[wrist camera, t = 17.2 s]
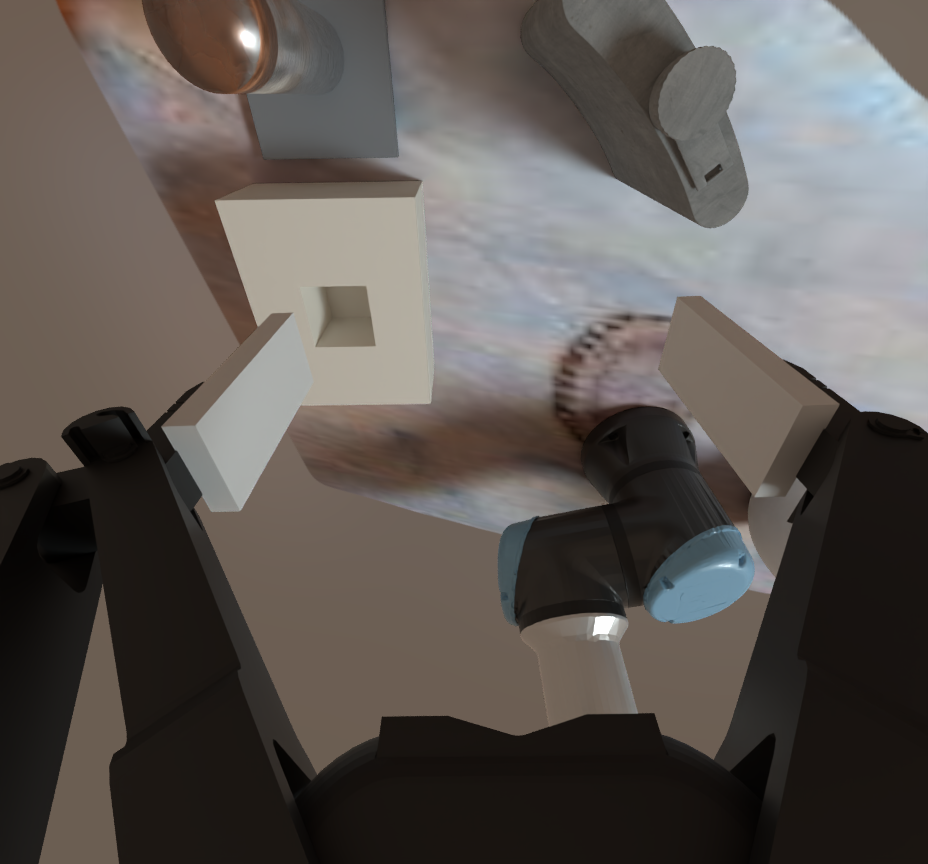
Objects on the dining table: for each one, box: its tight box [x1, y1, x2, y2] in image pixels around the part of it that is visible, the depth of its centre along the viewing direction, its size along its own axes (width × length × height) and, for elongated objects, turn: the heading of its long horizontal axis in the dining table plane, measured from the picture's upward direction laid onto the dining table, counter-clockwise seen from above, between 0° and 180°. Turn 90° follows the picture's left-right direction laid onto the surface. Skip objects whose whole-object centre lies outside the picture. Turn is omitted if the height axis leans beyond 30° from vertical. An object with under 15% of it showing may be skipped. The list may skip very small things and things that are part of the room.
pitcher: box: [748, 478, 807, 577], centre depth 56 cm, size 24×17×28 cm
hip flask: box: [521, 0, 749, 228], centre depth 28 cm, size 16×4×20 cm, turn 46°
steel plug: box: [142, 0, 344, 94], centre depth 26 cm, size 5×5×18 cm
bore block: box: [214, 181, 434, 406], centre depth 43 cm, size 20×16×8 cm
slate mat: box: [247, 0, 399, 159], centre depth 34 cm, size 14×12×1 cm
